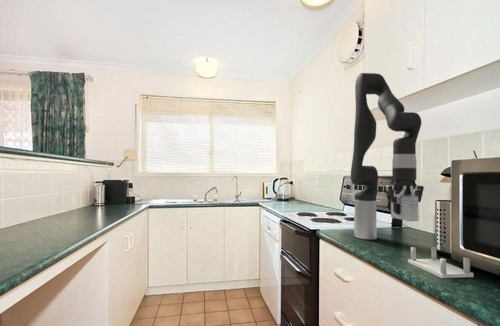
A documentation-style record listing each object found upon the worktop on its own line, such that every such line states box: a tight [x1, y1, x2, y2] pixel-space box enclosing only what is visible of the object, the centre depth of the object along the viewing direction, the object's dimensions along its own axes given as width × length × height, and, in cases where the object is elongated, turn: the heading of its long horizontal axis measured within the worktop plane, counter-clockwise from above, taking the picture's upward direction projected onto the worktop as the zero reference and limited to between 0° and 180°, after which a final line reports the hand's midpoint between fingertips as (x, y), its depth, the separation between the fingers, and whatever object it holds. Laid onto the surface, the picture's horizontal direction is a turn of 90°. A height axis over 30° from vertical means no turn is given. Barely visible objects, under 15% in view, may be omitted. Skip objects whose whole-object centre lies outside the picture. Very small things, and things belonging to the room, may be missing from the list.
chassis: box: [407, 246, 474, 279], centre depth 79 cm, size 13×10×5 cm
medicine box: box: [390, 194, 420, 222], centre depth 93 cm, size 8×4×9 cm, turn 16°
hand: (404, 213), depth 93 cm, fingers closed on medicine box, 5 cm apart
